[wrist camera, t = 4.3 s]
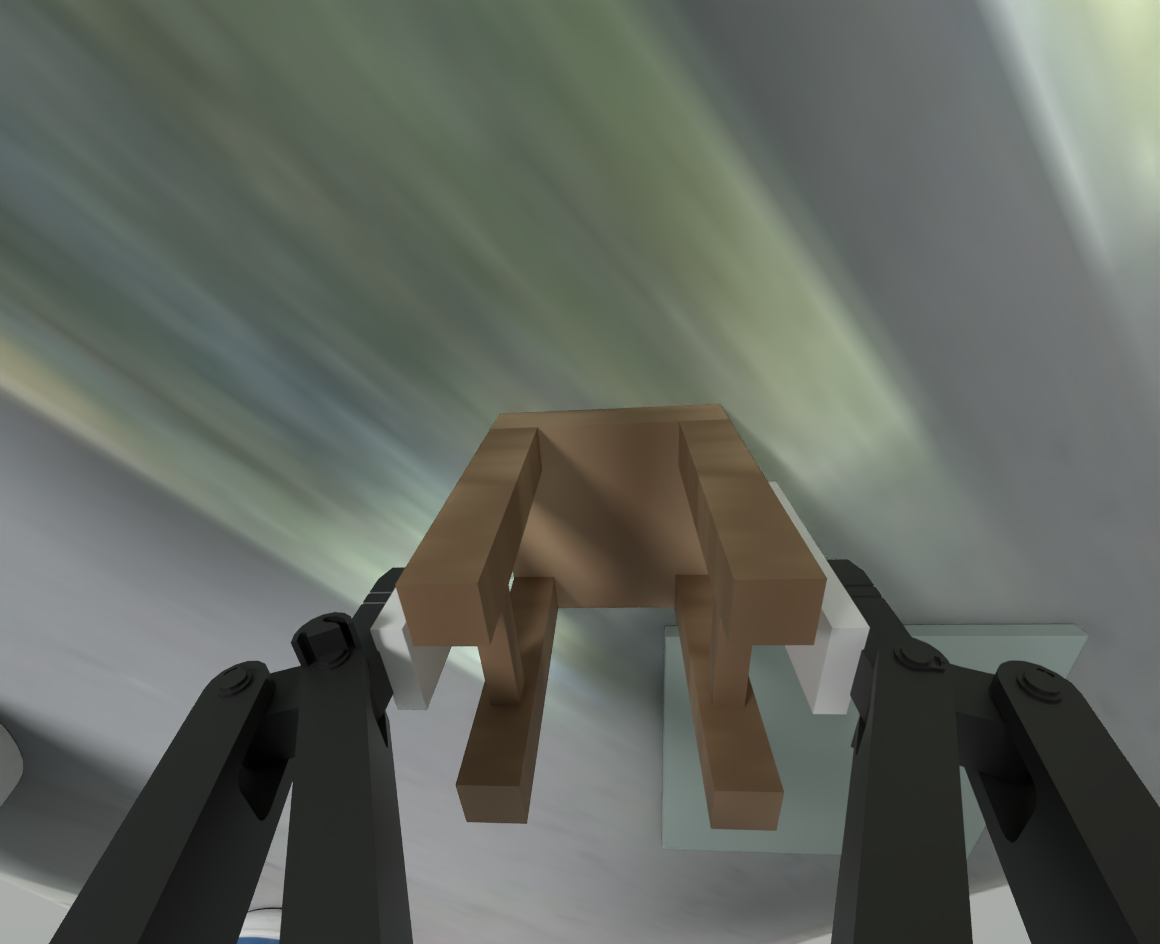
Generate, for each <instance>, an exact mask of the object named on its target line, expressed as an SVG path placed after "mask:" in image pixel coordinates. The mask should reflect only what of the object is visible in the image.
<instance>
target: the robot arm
mask: <svg viewBox="0 0 1160 944" xmlns="http://www.w3.org/2000/svg"><path fill="white" fill-rule="evenodd" d="M768 483H769V484H770V486H771V488H772V489H773V491H774V493H775V494H776V496H777V497H778V499H779V501H780V502H781V504H782V506H783V507H784V509H785V510H786V512H787V514H788V515H789V517H790V519H791V520H792V522H793V524H794V525H795V527H796V528H797V530H798V532H799V533H800V535H801V537H802V538H803V540H804V541H805V543H806V545H807V546H808V548H809V550H810V551H811V553H812V554H813V556H814V558H815V559H816V561H817V563H818V564H819V566H820V567H821V569H822V571H823V572H824V574H825V576H826V577H827V582H826V587H825V592H824V597H823V602H822V607H821V612H820V617H819V622H818V627H817V632H816V637H815V642H814V645H785V647H786V650H787V652H788V655H789V657H790V659H791V662H792V664H793V667H794V669H795V672H796V674H797V676H798V679H799V681H800V684H801V686H802V689H803V691H804V693H805V696H806V698H807V701H808V703H809V706H810V708H811V710H812V713H813V714H847V710H848V707H849V703H850V699H851V698H852V700H853V702H854V704H855V706H856V708H857V710H858V712H859V714H860V715H859V719H858V722H857V725H856V729H855V732H854V736H853V739H852V743H851V746H850V747H852V748H854V751H853V760H852V768H851V777H850V785H849V794H848V802H847V811H846V819H845V828H844V836H843V845H842V854H841V862H840V871H839V879H838V888H837V896H836V905H835V913H834V922H833V930H832V939H831V944H973V940H972V927H971V914H970V901H969V887H968V874H967V860H966V847H965V834H964V820H963V807H962V794H961V781H960V767H959V766H962V767H964V768H965V771H966V774H967V776H968V779H969V781H970V784H971V787H972V789H973V792H974V794H975V797H976V800H977V802H978V805H979V808H980V810H981V813H982V815H983V818H984V821H985V823H986V826H987V829H988V831H989V834H990V836H991V839H992V842H993V844H994V847H995V850H996V852H997V855H998V857H999V860H1000V863H1001V865H1002V868H1003V871H1004V873H1005V876H1006V878H1007V881H1008V884H1009V886H1010V889H1011V892H1012V894H1013V897H1014V899H1015V902H1016V905H1017V907H1018V910H1019V912H1020V915H1021V918H1022V920H1023V923H1024V925H1025V928H1026V931H1027V933H1028V936H1029V939H1030V941H1031V944H1160V807H1159V806H1158V804H1157V803H1156V802H1155V800H1154V799H1153V797H1152V796H1151V794H1150V793H1149V791H1148V790H1147V788H1146V787H1145V785H1144V784H1143V783H1142V781H1141V780H1140V778H1139V777H1138V775H1137V774H1136V772H1135V771H1134V769H1133V768H1132V767H1131V765H1130V764H1129V762H1128V761H1127V759H1126V758H1125V756H1124V755H1123V753H1122V752H1121V751H1120V749H1119V748H1118V746H1117V745H1116V743H1115V742H1114V740H1113V739H1112V737H1111V736H1110V735H1109V733H1108V732H1107V730H1106V729H1105V727H1104V726H1103V724H1102V723H1101V721H1100V720H1099V719H1098V717H1097V716H1096V714H1095V713H1094V711H1093V710H1092V708H1091V707H1090V705H1089V704H1088V703H1087V701H1086V700H1085V698H1084V697H1083V695H1082V694H1081V693H1080V692H1079V691H1078V690H1077V688H1076V687H1075V686H1074V685H1073V684H1072V683H1071V682H1069V681H1068V680H1066V679H1065V678H1063V677H1062V676H1061V675H1059V674H1058V673H1056V672H1054V671H1052V670H1049V669H1047V668H1045V667H1043V666H1041V665H1038V664H1034V663H1030V662H1026V661H1016V660H1010V661H1007V662H1004V663H1001V664H1000V666H999V667H998V669H997V671H996V673H995V674H991V673H986V672H982V671H978V670H973V669H969V668H964V667H960V666H957V665H954V664H950V663H949V661H948V660H947V658H946V657H945V656H944V655H943V654H942V653H941V652H940V651H939V650H937V649H936V648H934V647H933V646H931V645H930V644H928V643H926V642H923V641H921V640H919V639H916V638H913V637H911V635H910V634H909V632H908V631H907V630H906V628H905V627H904V626H903V624H902V623H901V622H900V620H899V619H898V617H897V616H896V615H895V613H894V612H893V611H892V609H891V608H890V606H889V605H888V604H887V602H886V601H885V600H884V598H882V597H881V594H880V593H879V591H878V590H877V589H876V587H874V586H873V583H872V582H871V580H870V579H869V578H868V576H867V575H866V574H865V572H864V571H863V570H861V569H860V568H859V567H857V566H856V565H854V564H853V563H852V562H850V561H849V560H847V559H843V560H826V559H825V557H824V556H823V554H822V552H821V551H820V549H819V548H818V546H817V545H816V543H815V542H814V540H813V538H812V537H811V535H810V534H809V532H808V531H807V529H806V528H805V526H804V524H803V523H802V521H801V520H800V518H799V517H798V515H797V514H796V512H795V511H794V509H793V507H792V506H791V504H790V503H789V501H788V500H787V498H786V497H785V495H784V493H783V492H782V490H781V489H780V487H779V486H778V484H777V483H776V481H773V482H768ZM404 569H405V568H392V569H390V570H389V571H388V572H387V573H385V574H384V575H383V576H382V577H380V578H379V579H378V581H377V582H376V584H375V585H374V587H373V588H372V590H371V591H370V594H368V596H367V597H366V599H365V600H364V602H363V604H361V606H360V607H359V609H358V610H357V612H356V613H355V615H354V616H353V618H351V616H349V615H347V614H345V613H338V612H334V613H329V614H324V615H321V616H319V617H316V618H314V619H312V620H310V621H309V622H307V623H306V624H304V625H303V626H302V627H301V628H300V629H299V630H298V631H297V632H296V633H295V634H294V636H293V639H292V641H291V644H292V647H293V649H294V651H295V653H296V655H297V658H298V660H299V662H300V664H301V666H298V667H294V668H290V669H286V670H282V671H278V672H274V673H270V672H269V670H268V668H267V666H266V664H265V663H262V662H260V661H246V662H243V663H240V664H236V665H234V666H232V667H230V668H228V669H226V670H224V671H223V672H221V673H220V674H219V675H217V676H216V677H215V678H214V679H212V680H211V681H210V683H209V684H208V685H207V686H206V687H205V689H204V690H203V692H202V693H201V695H200V697H199V698H198V700H197V701H196V703H195V705H194V706H193V708H192V710H191V711H190V713H189V715H188V716H187V718H186V720H185V721H184V723H183V724H182V726H181V728H180V729H179V731H178V733H177V734H176V736H175V738H174V739H173V741H172V742H171V744H170V746H169V747H168V749H167V751H166V752H165V754H164V756H163V757H162V759H161V761H160V762H159V764H158V765H157V767H156V769H155V770H154V772H153V774H152V775H151V777H150V779H149V780H148V782H147V784H146V785H145V787H144V788H143V790H142V792H141V793H140V795H139V797H138V798H137V800H136V802H135V803H134V805H133V806H132V808H131V810H130V811H129V813H128V815H127V816H126V818H125V820H124V821H123V823H122V825H121V826H120V828H119V829H118V831H117V833H116V834H115V836H114V838H113V839H112V841H111V843H110V844H109V846H108V848H107V849H106V851H105V852H104V854H103V856H102V857H101V859H100V861H99V862H98V864H97V866H96V867H95V869H94V870H93V872H92V874H91V875H90V877H89V879H88V880H87V882H86V884H85V885H84V887H83V889H82V890H81V892H80V893H79V895H78V897H77V898H76V900H75V902H74V903H73V905H72V907H71V908H70V910H69V912H68V913H67V915H66V916H65V918H64V920H63V921H62V923H61V925H60V926H59V928H58V930H57V931H56V933H55V935H54V936H53V938H52V939H51V941H50V943H49V944H237V942H238V939H239V936H240V933H241V930H242V927H243V924H244V921H245V918H246V915H247V912H248V909H249V907H250V904H251V901H252V898H253V895H254V892H255V889H256V886H257V883H258V880H259V877H260V874H261V872H262V869H263V866H264V863H265V860H266V857H267V854H268V851H269V848H270V845H271V842H272V839H273V837H274V834H275V831H276V828H277V825H278V822H279V819H280V816H281V813H282V810H283V807H284V804H285V802H286V799H287V796H288V793H289V790H290V787H291V784H292V781H293V787H292V798H291V810H290V822H289V833H288V845H287V857H286V868H285V880H284V892H283V903H282V915H281V927H280V939H279V944H413V939H412V929H411V920H410V911H409V902H408V892H407V883H406V874H405V864H404V855H403V846H402V836H401V827H400V818H399V808H398V799H397V790H396V780H395V771H394V762H393V752H392V743H391V734H390V724H389V719H388V716H387V713H386V708H387V705H388V703H389V701H390V699H391V697H392V695H393V697H394V700H395V703H396V706H397V709H398V710H427V708H428V706H429V703H430V701H431V698H432V695H433V693H434V690H435V688H436V685H437V683H438V680H439V677H440V675H441V672H442V670H443V667H444V664H445V662H446V659H447V657H448V654H449V652H450V649H451V646H413V643H412V639H411V636H410V633H409V629H408V626H407V623H406V619H405V616H404V613H403V609H402V606H401V603H400V600H399V596H398V593H397V590H396V586H395V584H396V582H397V581H398V579H399V577H400V576H401V574H402V572H403V571H404Z"/></svg>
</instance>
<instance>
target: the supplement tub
mask: <svg viewBox="0 0 1160 944" xmlns="http://www.w3.org/2000/svg"><path fill="white" fill-rule="evenodd" d="M281 915H282V909H262V910H256V911H251V912H248V913H247V915H246V918H245V921H244V924H243V927H242V930H241V933H240V936H239V939H238V942H237V944H279V939H280V927H281Z"/></svg>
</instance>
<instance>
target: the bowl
mask: <svg viewBox="0 0 1160 944" xmlns="http://www.w3.org/2000/svg"><path fill="white" fill-rule="evenodd" d="M22 774H23V759H22V756H21V754H20V751H19V748H18V746H17V745H16V743H15V742H14V740H13V739H12V737H11V736H10V734H9V733H8V731H7V730H6V729H5V728H4V727H3V726H2V725H1V724H0V807H1V806H2V804H3V803H4V801H5V800H6V799H7V797H8V796H9V795H10V793H11V792H12V791H13V789H14V788H15V787H16V785H17V784H18V782H19V780H20V778H21V776H22Z"/></svg>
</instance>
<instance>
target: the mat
mask: <svg viewBox="0 0 1160 944" xmlns="http://www.w3.org/2000/svg"><path fill="white" fill-rule="evenodd" d="M903 626H904V627H905V628H906V630H907V631H908V632H909V634H910V635H911V637H913V638H916V639H919V640H921V641H923V642H926V643H928V644H930V645H931V646H933V647H934V648H936V649H937V650H939V651H940V652H941V653H942V654H943V655H944V656H945V657H946V658H947V660H948V661H949V663H950V664H954V665H957V666H960V667H964V668H969V669H973V670H978V671H982V672H986V673H991V674H995V673H996V671H997V669H998V667H999V666H1000V664H1001V663H1004V662H1007V661H1010V660H1016V661H1026V662H1030V663H1034V664H1038V665H1041V666H1043V667H1045V668H1047V669H1049V670H1052V671H1054V672H1056V673H1058V674H1059V675H1061V676H1062V677H1063V678H1065V679H1066V677H1067V676H1068V674H1069V672H1070V670H1071V668H1072V666H1073V665H1074V663H1075V661H1076V659H1077V657H1078V655H1079V654H1080V652H1081V650H1082V648H1083V646H1084V644H1085V643H1086V641H1087V639H1088V637H1089V635H1088V634H1087V633H1086V632H1084V631H1083V630H1082V629H1081V628H1080V627H1078V626H1077V625H1076V624H1017V625H903ZM749 678H750V682H751V685H752V688H753V691H754V695H755V698H756V701H757V705H758V708H759V711H760V714H761V718H762V721H763V724H764V728H765V731H766V734H767V737H768V741H769V744H770V747H771V751H772V754H773V757H774V760H775V764H776V767H777V770H778V774H779V777H780V780H781V783H782V787H783V790H784V796H783V801H782V806H781V811H780V816H779V821H778V826H777V831H764V830H730V829H711V826H710V820H709V814H708V808H707V802H706V796H705V790H704V784H703V777H702V771H701V765H700V759H699V753H698V747H697V741H696V735H695V729H694V722H693V716H692V710H691V704H690V698H689V692H688V686H687V680H686V674H685V667H684V661H683V655H682V649H681V643H680V637H679V631H678V626H665V645H664V708H663V771H662V834H661V838H662V849H678V850H707V851H737V852H766V853H795V854H825V855H841V854H842V845H843V836H844V828H845V819H846V811H847V802H848V794H849V785H850V777H851V768H852V760H853V751H854V748H852V747H850V746H851V743H852V739H853V736H854V732H855V729H856V725H857V722H858V719H859V715H860V714H859V712H858V710H857V708H856V706H855V704H854V702H853V700H852V698H851V699H850V703H849V707H848V710H847V714H813V713H812V710H811V708H810V706H809V703H808V701H807V698H806V696H805V693H804V691H803V689H802V686H801V684H800V681H799V679H798V676H797V674H796V672H795V669H794V667H793V664H792V662H791V659H790V657H789V655H788V652H787V650H786V647H785V645H752V651H751V660H750V668H749ZM959 767H960V781H961V794H962V807H963V820H964V834H965V847H966V859H968V857H969V855H970V853H971V852H972V850H973V848H974V846H975V844H976V842H977V841H978V839H979V837H980V835H981V833H982V831H983V830H984V828H985V826H986V823H985V821H984V818H983V815H982V813H981V810H980V808H979V805H978V802H977V800H976V797H975V794H974V792H973V789H972V787H971V784H970V781H969V779H968V776H967V774H966V771H965V768H964V767H962V766H959Z"/></svg>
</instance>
